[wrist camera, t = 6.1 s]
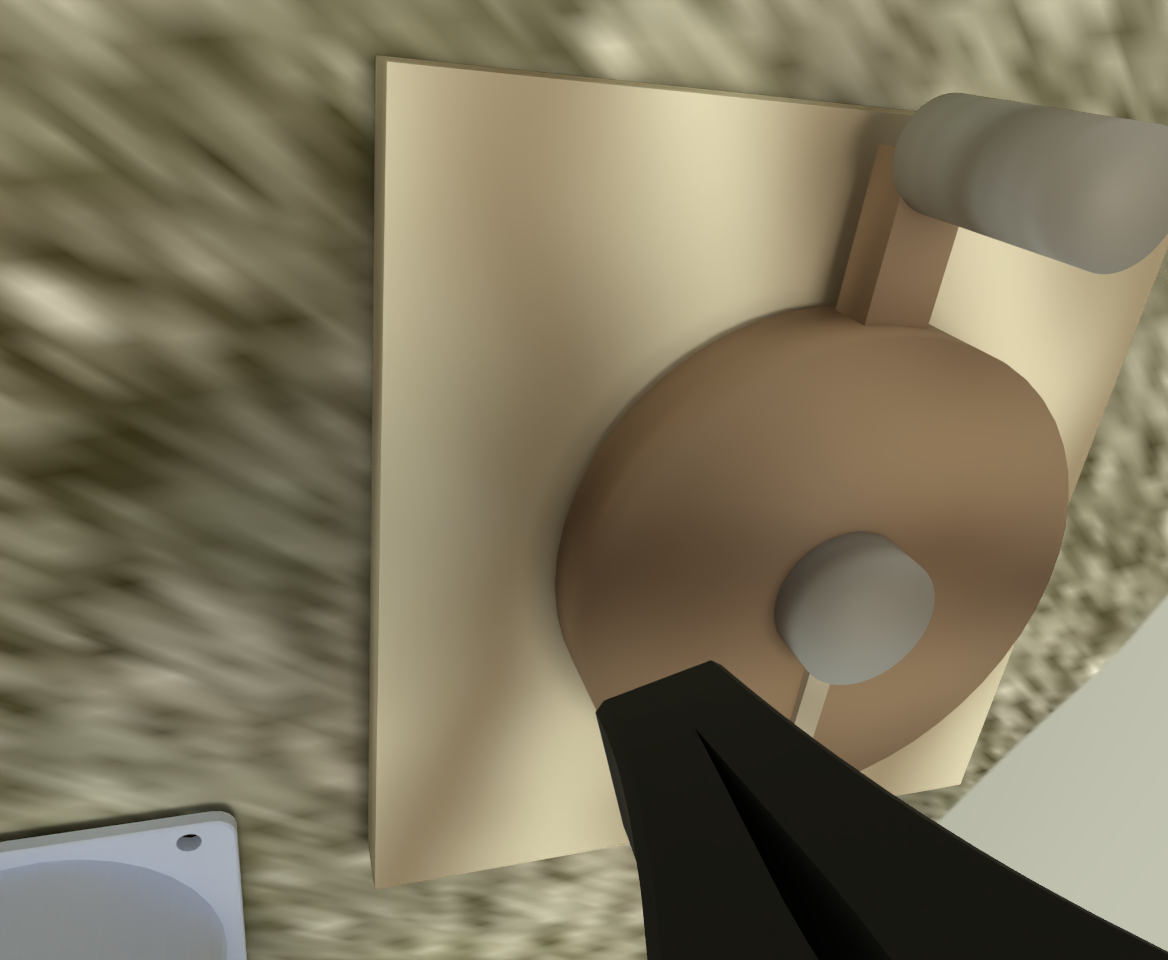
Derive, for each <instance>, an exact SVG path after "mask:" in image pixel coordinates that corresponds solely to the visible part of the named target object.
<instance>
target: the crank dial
mask: <svg viewBox="0 0 1168 960" xmlns="http://www.w3.org/2000/svg"><path fill="white" fill-rule="evenodd" d="M959 227H961V228H964V229H967V230H970V231H973V232H976V233H979V234H981V235H984V236H987V237H990V238H993V239H996V240H999V241H1002V242H1005V243H1008V244H1010V245H1013V246H1016V247H1019V248H1022V249H1025V250H1028V251H1031V252H1034V253H1037V254H1040V255H1042V256H1045V257H1048V258H1051V259H1054V260H1057V261H1060V262H1063V263H1066V264H1069V265H1071V266H1074V267H1077V268H1080V269H1083V270H1086V271H1089V272H1092V273H1096V274H1112V273H1117V272H1120V271H1123V270H1125V269H1128V268H1130V267H1132V266H1133V265H1135V264H1137V263H1138V262H1140V261H1141V260H1143V259H1144V258H1145V257H1146V256H1148V255H1149V254H1150V253H1151V252H1152V251H1153V250H1154V249H1155V248H1156V247H1157V246H1158V245H1159V244H1160V243H1161V241H1162V240H1163V239H1164V238H1165V236H1166V235H1167V234H1168V127H1167V126H1165V125H1161V124H1156V123H1150V122H1143V121H1137V120H1130V119H1124V118H1117V117H1111V116H1105V115H1098V114H1092V113H1085V112H1079V111H1073V110H1066V109H1060V108H1053V107H1047V106H1040V105H1034V104H1028V103H1021V102H1015V101H1008V100H1002V99H996V98H989V97H983V96H976V95H970V94H963V93H948V94H944V95H941V96H938V97H936V98H934V99H932V100H930V101H929V102H927V103H926V104H924V105H923V106H922V107H921V108H920V109H919V110H918V111H916V112H915V114H914V115H913V116H912V117H911V118H910V120H909V121H908V122H907V124H906V125H905V127H904V129H903V131H902V132H901V134H900V137H899V139H898V141H897V144H896V145H888V144H880V143H879V146H878V150H877V154H876V158H875V161H874V165H873V169H872V173H871V177H870V180H869V184H868V188H867V192H866V196H865V199H864V203H863V207H862V211H861V215H860V218H859V222H858V226H857V230H856V234H855V237H854V241H853V245H852V249H851V253H850V256H849V260H848V264H847V268H846V271H845V275H844V279H843V283H842V287H841V290H840V294H839V298H838V302H837V305H824V306H818V307H812V308H806V309H799V310H793V311H790V312H786V313H783V314H780V315H776V316H773V317H770V318H766V319H763V320H760V321H757V322H755V323H753V324H750V325H748V326H746V327H744V328H741V329H739V330H737V331H734V332H732V333H730V334H728V335H726V336H724V337H722V338H720V339H719V340H717V341H715V342H714V343H712V344H710V345H708V346H707V347H705V348H703V349H702V350H700V351H698V352H697V353H695V354H693V355H692V356H691V357H689V358H688V359H687V360H685V361H684V362H683V363H681V364H680V365H679V366H677V367H676V368H675V369H673V370H672V371H671V372H669V373H668V374H667V375H665V376H664V377H663V378H662V379H661V380H660V381H659V382H657V383H656V384H655V385H654V386H653V387H652V388H651V389H650V390H649V391H648V392H647V393H646V394H645V395H644V396H643V397H642V398H640V399H639V400H638V401H637V402H636V403H635V404H634V406H633V407H632V408H631V409H630V410H629V411H628V413H627V414H626V415H625V416H624V417H623V419H622V420H621V421H620V422H619V423H618V424H617V426H616V427H615V428H614V429H613V430H612V432H611V433H610V434H609V436H608V437H607V439H606V440H605V442H604V443H603V445H602V446H601V448H600V449H599V451H598V452H597V454H596V455H595V457H594V458H593V460H592V461H591V463H590V465H589V467H588V469H587V471H586V473H585V475H584V477H583V479H582V481H581V483H580V485H579V487H578V489H577V491H576V493H575V495H574V498H573V501H572V503H571V506H570V509H569V512H568V514H567V517H566V520H565V523H564V526H563V531H562V535H561V540H560V544H559V549H558V553H557V563H556V576H555V594H556V607H557V615H558V619H559V623H560V627H561V632H562V636H563V639H564V642H565V644H566V646H567V649H568V651H569V653H570V656H571V658H572V660H573V662H574V665H575V667H576V669H577V671H578V673H579V675H580V677H581V679H582V681H583V683H584V685H585V688H586V690H587V692H588V694H589V696H590V698H591V700H592V702H593V704H594V706H595V709H596V711H597V709H598V708H599V707H600V705H601V704H602V702H603V701H604V700H607V699H609V698H612V697H614V696H617V695H620V694H622V693H625V692H628V691H630V690H633V689H636V688H638V687H641V686H644V685H646V684H649V683H652V682H654V681H657V680H659V679H662V678H665V677H667V676H670V675H673V674H675V673H678V672H681V671H683V670H686V669H689V668H691V667H694V666H697V665H699V664H702V663H705V662H707V661H710V660H712V661H714V662H716V663H718V664H721V665H722V666H723V667H725V668H726V669H727V670H728V671H729V672H730V673H732V674H733V675H734V676H735V677H736V678H738V679H739V680H740V681H741V682H742V683H744V684H745V685H746V686H747V687H748V688H750V689H751V690H752V691H753V692H755V693H756V694H757V695H758V696H760V697H761V698H762V699H763V700H765V701H766V702H767V703H768V704H770V705H771V706H772V707H773V708H775V709H776V710H777V711H778V712H780V713H781V714H782V715H784V716H785V717H786V718H787V719H789V720H790V721H791V722H793V723H794V724H795V725H797V726H798V727H799V728H801V729H802V730H803V731H805V732H806V733H807V734H809V735H810V736H811V737H812V738H814V739H815V740H817V741H818V742H819V743H821V744H822V745H823V746H825V747H826V748H827V749H829V750H830V751H832V752H833V753H834V754H836V755H837V756H838V757H840V758H841V759H843V760H844V761H846V762H847V763H848V764H850V765H851V766H853V767H854V768H856V769H857V770H859V771H862V770H864V769H866V768H868V767H870V766H872V765H874V764H875V763H877V762H879V761H881V760H883V759H885V758H887V757H889V756H891V755H892V754H894V753H896V752H897V751H899V750H900V749H902V748H904V747H905V746H907V745H909V744H910V743H912V742H913V741H915V740H916V739H918V738H919V737H920V736H922V735H923V734H924V733H926V732H927V731H929V730H930V729H931V728H933V727H934V726H935V725H937V724H938V723H939V722H941V721H942V720H943V719H944V718H945V717H946V716H948V715H949V714H950V713H951V712H952V711H953V710H955V709H956V708H957V707H958V706H959V705H960V704H962V703H963V702H964V701H965V700H966V699H967V698H968V697H969V696H970V695H971V694H972V693H973V692H974V691H975V690H976V689H977V688H978V687H979V686H980V685H981V684H982V683H983V682H984V680H985V679H986V678H987V677H988V676H989V674H990V673H991V672H992V671H993V670H994V669H995V667H996V666H997V665H998V664H999V663H1000V662H1001V660H1002V659H1003V658H1004V657H1005V655H1006V654H1007V652H1008V651H1009V650H1010V648H1011V647H1012V645H1013V644H1014V643H1015V641H1016V640H1017V639H1018V637H1019V636H1020V634H1021V633H1022V631H1023V629H1024V628H1025V626H1026V624H1027V623H1028V621H1029V619H1030V618H1031V616H1032V614H1033V613H1034V611H1035V609H1036V607H1037V605H1038V603H1039V601H1040V599H1041V597H1042V595H1043V593H1044V591H1045V589H1046V587H1047V584H1048V582H1049V580H1050V577H1051V574H1052V572H1053V569H1054V566H1055V563H1056V561H1057V558H1058V555H1059V551H1060V547H1061V543H1062V539H1063V535H1064V531H1065V527H1066V518H1067V510H1068V501H1069V482H1068V467H1067V461H1066V455H1065V449H1064V445H1063V442H1062V439H1061V436H1060V433H1059V430H1058V427H1057V424H1056V422H1055V420H1054V418H1053V416H1052V414H1051V413H1050V411H1049V409H1048V407H1047V406H1046V404H1045V402H1044V400H1043V399H1042V398H1041V396H1040V395H1039V394H1038V393H1037V392H1036V391H1035V389H1034V388H1033V387H1032V386H1031V385H1030V383H1029V382H1028V381H1027V380H1026V379H1025V378H1024V377H1022V376H1021V375H1020V374H1019V373H1017V372H1016V371H1015V370H1014V369H1012V368H1011V367H1010V366H1008V365H1007V364H1006V363H1004V362H1003V361H1001V360H999V359H997V358H995V357H993V356H991V355H989V354H987V353H985V352H983V351H981V350H979V349H977V348H975V347H973V346H971V345H969V344H967V343H965V342H963V341H961V340H959V339H957V338H955V337H953V336H951V335H949V334H947V333H945V332H944V331H942V330H940V329H938V328H936V327H934V326H932V325H930V324H929V321H930V318H931V315H932V312H933V309H934V305H935V302H936V299H937V296H938V292H939V289H940V286H941V283H942V280H943V276H944V273H945V270H946V267H947V263H948V260H949V257H950V254H951V251H952V247H953V244H954V241H955V238H956V234H957V231H958V228H959Z"/></svg>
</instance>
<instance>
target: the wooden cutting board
mask: <svg viewBox="0 0 1168 960" xmlns="http://www.w3.org/2000/svg"><path fill="white" fill-rule="evenodd" d="M915 112H916V111H910V110H900V109H891V108H881V107H871V106H862V105H852V104H842V103H833V102H823V101H814V100H804V99H794V98H785V97H775V96H765V95H756V94H746V93H736V92H727V91H717V90H707V89H698V88H688V87H679V86H669V85H659V84H650V83H640V82H630V81H621V80H611V79H601V78H592V77H582V76H573V75H563V74H553V73H544V72H534V71H524V70H515V69H505V68H495V67H486V66H476V65H467V64H457V63H447V62H438V61H428V60H418V59H409V58H399V57H389V56H380V55H376V65H375V167H374V270H373V372H372V475H371V577H370V679H369V782H368V845H369V852H370V859H371V866H372V873H373V881H374V888H375V890H376V889H382V888H387V887H393V886H398V885H404V884H409V883H415V882H420V881H426V880H432V879H437V878H443V877H448V876H454V875H459V874H465V873H470V872H476V871H482V870H487V869H493V868H498V867H504V866H509V865H515V864H520V863H526V862H532V861H537V860H543V859H548V858H554V857H559V856H565V855H570V854H576V853H582V852H587V851H593V850H598V849H604V848H609V847H615V846H620V845H626V844H630V842H629V839H628V837H627V834H626V832H625V829H624V826H623V823H622V819H621V815H620V811H619V806H618V802H617V798H616V794H615V790H614V786H613V782H612V778H611V774H610V770H609V766H608V762H607V758H606V754H605V750H604V746H603V742H602V737H601V733H600V729H599V725H598V721H597V717H596V713H595V712H596V709H595V706H594V704H593V702H592V700H591V698H590V696H589V694H588V692H587V690H586V688H585V685H584V683H583V681H582V679H581V677H580V675H579V673H578V671H577V669H576V667H575V665H574V662H573V660H572V658H571V656H570V653H569V651H568V649H567V646H566V644H565V642H564V639H563V636H562V632H561V627H560V623H559V619H558V615H557V607H556V594H555V576H556V563H557V553H558V549H559V544H560V540H561V535H562V531H563V526H564V523H565V520H566V517H567V514H568V512H569V509H570V506H571V503H572V501H573V498H574V495H575V493H576V491H577V489H578V487H579V485H580V483H581V481H582V479H583V477H584V475H585V473H586V471H587V469H588V467H589V465H590V463H591V461H592V460H593V458H594V457H595V455H596V454H597V452H598V451H599V449H600V448H601V446H602V445H603V443H604V442H605V440H606V439H607V437H608V436H609V434H610V433H611V432H612V430H613V429H614V428H615V427H616V426H617V424H618V423H619V422H620V421H621V420H622V419H623V417H624V416H625V415H626V414H627V413H628V411H629V410H630V409H631V408H632V407H633V406H634V404H635V403H636V402H637V401H638V400H639V399H640V398H642V397H643V396H644V395H645V394H646V393H647V392H648V391H649V390H650V389H651V388H652V387H653V386H654V385H655V384H656V383H657V382H659V381H660V380H661V379H662V378H663V377H664V376H665V375H667V374H668V373H669V372H671V371H672V370H673V369H675V368H676V367H677V366H679V365H680V364H681V363H683V362H684V361H685V360H687V359H688V358H689V357H691V356H692V355H693V354H695V353H697V352H698V351H700V350H702V349H703V348H705V347H707V346H708V345H710V344H712V343H714V342H715V341H717V340H719V339H720V338H722V337H724V336H726V335H728V334H730V333H732V332H734V331H737V330H739V329H741V328H744V327H746V326H748V325H750V324H753V323H755V322H757V321H760V320H763V319H766V318H770V317H773V316H776V315H780V314H783V313H786V312H790V311H793V310H799V309H806V308H812V307H818V306H824V305H837V302H838V298H839V294H840V290H841V287H842V283H843V279H844V275H845V271H846V268H847V264H848V260H849V256H850V253H851V249H852V245H853V241H854V237H855V234H856V230H857V226H858V222H859V218H860V215H861V211H862V207H863V203H864V199H865V196H866V192H867V188H868V184H869V180H870V177H871V173H872V169H873V165H874V161H875V158H876V154H877V150H878V146H879V143H880V144H888V145H896V144H897V141H898V139H899V137H900V134H901V132H902V131H903V129H904V127H905V125H906V124H907V122H908V121H909V120H910V118H911V117H912V116H913V115H914V114H915ZM1167 248H1168V234H1167V235H1166V236H1165V238H1164V239H1163V240H1162V241H1161V243H1160V244H1159V245H1158V246H1157V247H1156V248H1155V249H1154V250H1153V251H1152V252H1151V253H1150V254H1149V255H1148V256H1146V257H1145V258H1144V259H1143V260H1141V261H1140V262H1138V263H1137V264H1135V265H1133V266H1132V267H1130V268H1128V269H1125V270H1123V271H1120V272H1117V273H1112V274H1096V273H1092V272H1089V271H1086V270H1083V269H1080V268H1077V267H1074V266H1071V265H1069V264H1066V263H1063V262H1060V261H1057V260H1054V259H1051V258H1048V257H1045V256H1042V255H1040V254H1037V253H1034V252H1031V251H1028V250H1025V249H1022V248H1019V247H1016V246H1013V245H1010V244H1008V243H1005V242H1002V241H999V240H996V239H993V238H990V237H987V236H984V235H981V234H979V233H976V232H973V231H970V230H967V229H964V228H961V227H959V228H958V231H957V234H956V238H955V241H954V244H953V247H952V251H951V254H950V257H949V260H948V263H947V267H946V270H945V273H944V276H943V280H942V283H941V286H940V289H939V292H938V296H937V299H936V302H935V305H934V309H933V312H932V315H931V318H930V321H929V324H930V325H932V326H934V327H936V328H938V329H940V330H942V331H944V332H945V333H947V334H949V335H951V336H953V337H955V338H957V339H959V340H961V341H963V342H965V343H967V344H969V345H971V346H973V347H975V348H977V349H979V350H981V351H983V352H985V353H987V354H989V355H991V356H993V357H995V358H997V359H999V360H1001V361H1003V362H1004V363H1006V364H1007V365H1008V366H1010V367H1011V368H1012V369H1014V370H1015V371H1016V372H1017V373H1019V374H1020V375H1021V376H1022V377H1024V378H1025V379H1026V380H1027V381H1028V382H1029V383H1030V385H1031V386H1032V387H1033V388H1034V389H1035V391H1036V392H1037V393H1038V394H1039V395H1040V396H1041V398H1042V399H1043V400H1044V402H1045V404H1046V406H1047V407H1048V409H1049V411H1050V413H1051V414H1052V416H1053V418H1054V420H1055V422H1056V424H1057V427H1058V430H1059V433H1060V436H1061V439H1062V442H1063V445H1064V449H1065V455H1066V461H1067V467H1068V482H1069V501H1068V504H1069V502H1070V499H1071V496H1072V494H1073V491H1074V489H1075V486H1076V484H1077V481H1078V478H1079V476H1080V473H1081V471H1082V468H1083V465H1084V463H1085V460H1086V458H1087V455H1088V453H1089V450H1090V447H1091V445H1092V442H1093V440H1094V437H1095V434H1096V432H1097V429H1098V427H1099V424H1100V422H1101V419H1102V416H1103V414H1104V411H1105V409H1106V406H1107V403H1108V401H1109V398H1110V396H1111V393H1112V391H1113V388H1114V385H1115V383H1116V380H1117V378H1118V375H1119V372H1120V370H1121V367H1122V365H1123V362H1124V360H1125V357H1126V354H1127V352H1128V349H1129V347H1130V344H1131V341H1132V339H1133V336H1134V334H1135V331H1136V328H1137V326H1138V323H1139V321H1140V318H1141V316H1142V313H1143V310H1144V308H1145V305H1146V303H1147V300H1148V297H1149V295H1150V292H1151V290H1152V287H1153V285H1154V282H1155V279H1156V277H1157V274H1158V272H1159V269H1160V266H1161V264H1162V261H1163V259H1164V256H1165V254H1166V251H1167ZM1014 644H1015V643H1014ZM1014 644H1013V645H1012V647H1011V648H1010V650H1009V651H1008V652H1007V654H1006V655H1005V657H1004V658H1003V659H1002V660H1001V662H1000V663H999V664H998V665H997V666H996V667H995V669H994V670H993V671H992V672H991V673H990V674H989V676H988V677H987V678H986V679H985V680H984V682H983V683H982V684H981V685H980V686H979V687H978V688H977V689H976V690H975V691H974V692H973V693H972V694H971V695H970V696H969V697H968V698H967V699H966V700H965V701H964V702H963V703H962V704H960V705H959V706H958V707H957V708H956V709H955V710H953V711H952V712H951V713H950V714H949V715H948V716H946V717H945V718H944V719H943V720H942V721H941V722H939V723H938V724H937V725H935V726H934V727H933V728H931V729H930V730H929V731H927V732H926V733H924V734H923V735H922V736H920V737H919V738H918V739H916V740H915V741H913V742H912V743H910V744H909V745H907V746H905V747H904V748H902V749H900V750H899V751H897V752H896V753H894V754H892V755H891V756H889V757H887V758H885V759H883V760H881V761H879V762H877V763H875V764H874V765H872V766H870V767H868V768H866V769H864V770H862V771H860V772H861V773H863V774H864V775H866V776H867V777H869V778H870V779H871V780H873V781H874V782H876V783H877V784H879V785H880V786H882V787H883V788H884V789H886V790H887V791H889V792H890V793H892V794H893V795H894V796H898V795H904V794H909V793H915V792H920V791H926V790H931V789H937V788H942V787H948V786H954V785H959V784H960V783H961V781H962V778H963V776H964V773H965V770H966V768H967V765H968V763H969V760H970V758H971V755H972V752H973V750H974V747H975V745H976V742H977V739H978V737H979V734H980V732H981V729H982V727H983V724H984V721H985V719H986V716H987V714H988V711H989V708H990V706H991V703H992V701H993V698H994V696H995V693H996V690H997V688H998V685H999V683H1000V680H1001V677H1002V675H1003V672H1004V670H1005V667H1006V664H1007V662H1008V659H1009V657H1010V654H1011V652H1012V649H1013V646H1014Z"/></svg>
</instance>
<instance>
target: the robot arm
mask: <svg viewBox="0 0 1168 960" xmlns="http://www.w3.org/2000/svg"><path fill="white" fill-rule="evenodd" d="M595 713H596V717H597V721H598V725H599V729H600V733H601V737H602V742H603V746H604V750H605V754H606V758H607V762H608V766H609V770H610V774H611V778H612V782H613V786H614V790H615V794H616V798H617V802H618V806H619V811H620V815H621V819H622V823H623V826H624V829H625V832H626V834H627V837H628V839H629V842H630V845H631V847H632V850H633V853H634V856H635V859H636V862H637V868H638V874H639V880H640V888H641V896H642V906H643V916H644V927H645V938H646V949H647V959H648V960H1168V952H1167V951H1165V950H1163V949H1161V948H1159V947H1157V946H1155V945H1154V944H1151V943H1149V942H1148V941H1146V940H1144V939H1142V938H1140V937H1138V936H1136V935H1134V934H1132V933H1130V932H1128V931H1126V930H1124V929H1122V928H1120V927H1118V926H1116V925H1114V924H1112V923H1110V922H1108V921H1106V920H1104V919H1102V918H1100V917H1098V916H1096V915H1095V914H1093V913H1091V912H1089V911H1087V910H1085V909H1083V908H1082V907H1080V906H1078V905H1076V904H1074V903H1072V902H1071V901H1069V900H1067V899H1065V898H1063V897H1061V896H1059V895H1057V894H1056V893H1054V892H1052V891H1050V890H1049V889H1047V888H1045V887H1043V886H1041V885H1039V884H1037V883H1036V882H1034V881H1032V880H1030V879H1029V878H1027V877H1025V876H1024V875H1021V874H1020V873H1018V872H1017V871H1014V870H1013V869H1011V868H1010V867H1008V866H1006V865H1005V864H1003V863H1001V862H999V861H998V860H996V859H994V858H993V857H991V856H989V855H988V854H986V853H984V852H983V851H981V850H979V849H978V848H976V847H974V846H973V845H971V844H970V843H968V842H966V841H965V840H963V839H962V838H960V837H958V836H957V835H955V834H954V833H952V832H950V831H949V830H947V829H945V828H944V827H942V826H941V825H939V824H938V823H936V822H934V821H933V820H931V819H930V818H928V817H926V816H925V815H923V814H922V813H920V812H919V811H917V810H916V809H914V808H913V807H911V806H910V805H908V804H907V803H905V802H904V801H902V800H901V799H899V798H898V797H896V796H894V795H893V794H892V793H890V792H889V791H887V790H886V789H884V788H883V787H882V786H880V785H879V784H877V783H876V782H874V781H873V780H871V779H870V778H869V777H867V776H866V775H864V774H863V773H861V772H860V771H859V770H857V769H856V768H854V767H853V766H851V765H850V764H848V763H847V762H846V761H844V760H843V759H841V758H840V757H838V756H837V755H836V754H834V753H833V752H832V751H830V750H829V749H827V748H826V747H825V746H823V745H822V744H821V743H819V742H818V741H817V740H815V739H814V738H812V737H811V736H810V735H809V734H807V733H806V732H805V731H803V730H802V729H801V728H799V727H798V726H797V725H795V724H794V723H793V722H791V721H790V720H789V719H787V718H786V717H785V716H784V715H782V714H781V713H780V712H778V711H777V710H776V709H775V708H773V707H772V706H771V705H770V704H768V703H767V702H766V701H765V700H763V699H762V698H761V697H760V696H758V695H757V694H756V693H755V692H753V691H752V690H751V689H750V688H748V687H747V686H746V685H745V684H744V683H742V682H741V681H740V680H739V679H738V678H736V677H735V676H734V675H733V674H732V673H730V672H729V671H728V670H727V669H726V668H725V667H723V666H722V665H721V664H718V663H716V662H714V661H712V660H710V661H707V662H705V663H702V664H699V665H697V666H694V667H691V668H689V669H686V670H683V671H681V672H678V673H675V674H673V675H670V676H667V677H665V678H662V679H659V680H657V681H654V682H652V683H649V684H646V685H644V686H641V687H638V688H636V689H633V690H630V691H628V692H625V693H622V694H620V695H617V696H614V697H612V698H609V699H607V700H604V701H603V702H602V704H601V705H600V707H599V708H598V709H597V711H596V712H595ZM187 834H195V835H197V836H194V837H191V838H185V837H182V836H184V835H187ZM0 960H247V951H246V938H245V925H244V912H243V899H242V885H241V872H240V859H239V846H238V833H237V823H236V820H235V818H234V817H233V816H232V815H230V814H229V813H226V812H222V811H210V812H203V813H196V814H190V815H183V816H176V817H169V818H162V819H155V820H148V821H141V822H134V823H128V824H121V825H114V826H107V827H100V828H93V829H86V830H79V831H73V832H66V833H59V834H52V835H45V836H38V837H31V838H24V839H17V840H11V841H4V842H0Z"/></svg>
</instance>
